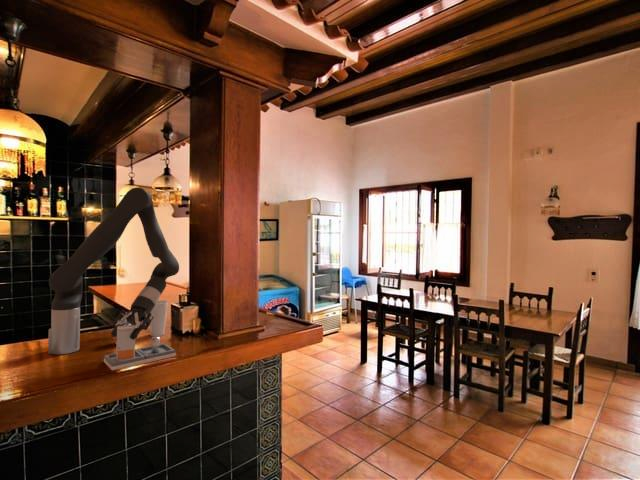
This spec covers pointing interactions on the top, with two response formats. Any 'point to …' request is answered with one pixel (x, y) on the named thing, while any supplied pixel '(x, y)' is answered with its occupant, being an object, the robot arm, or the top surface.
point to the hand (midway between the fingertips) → (122, 337)
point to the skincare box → (125, 343)
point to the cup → (158, 318)
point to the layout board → (142, 355)
